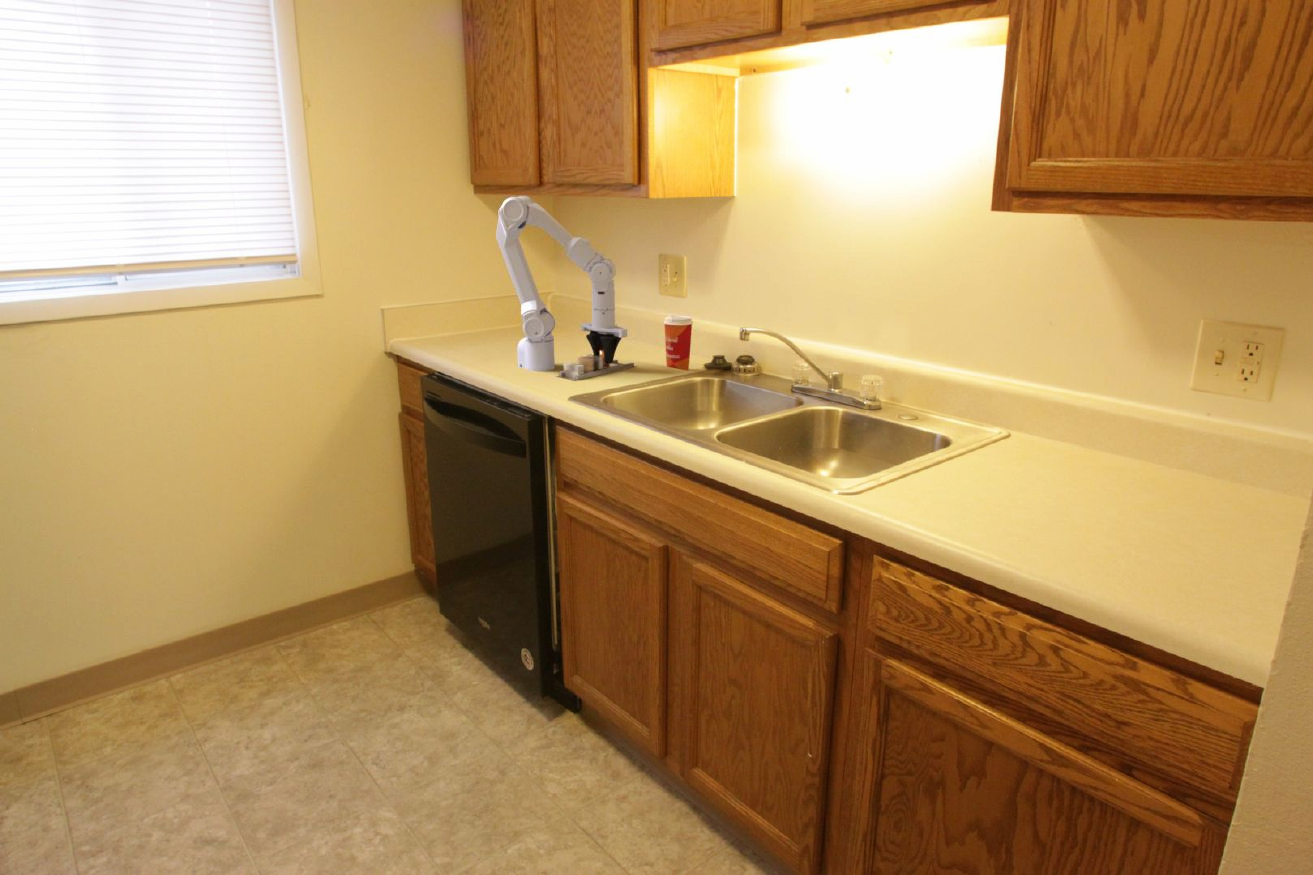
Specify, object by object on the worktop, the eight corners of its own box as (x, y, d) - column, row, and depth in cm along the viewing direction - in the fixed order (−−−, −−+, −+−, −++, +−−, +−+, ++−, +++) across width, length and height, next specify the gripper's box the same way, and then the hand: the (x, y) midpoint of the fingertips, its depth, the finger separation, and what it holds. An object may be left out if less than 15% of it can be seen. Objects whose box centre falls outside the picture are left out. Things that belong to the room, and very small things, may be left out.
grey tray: (555, 382, 216) (554, 364, 215) (617, 368, 232) (617, 351, 230) (575, 386, 211) (574, 368, 210) (637, 372, 227) (637, 355, 226)
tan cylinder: (574, 374, 218) (574, 358, 217) (586, 371, 221) (585, 355, 220) (585, 376, 215) (585, 360, 214) (597, 373, 218) (596, 358, 217)
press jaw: (587, 370, 221) (586, 351, 220) (606, 366, 226) (606, 347, 225) (599, 373, 219) (599, 353, 217) (619, 368, 224) (618, 349, 222)
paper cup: (658, 369, 231) (658, 316, 226) (685, 367, 233) (686, 314, 229) (669, 375, 224) (670, 320, 219) (697, 373, 226) (698, 319, 222)
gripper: (635, 309, 217) (635, 363, 220) (594, 304, 226) (595, 356, 230) (615, 313, 211) (616, 368, 215) (574, 307, 221) (575, 360, 225)
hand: (604, 362), depth 222 cm, fingers closed on press jaw, 3 cm apart
